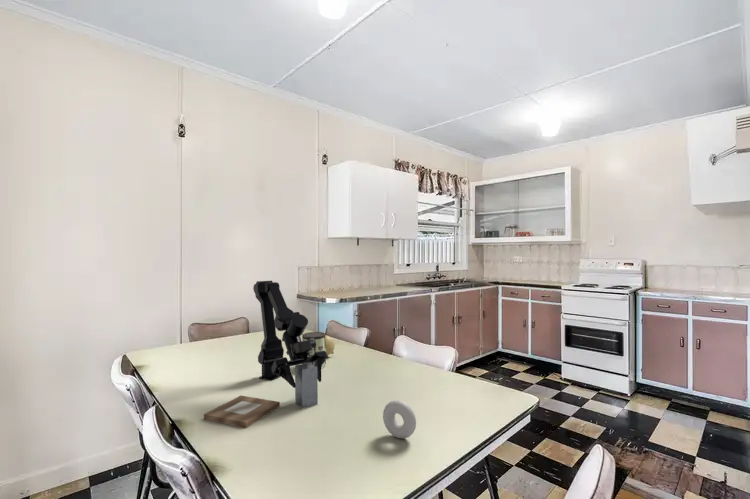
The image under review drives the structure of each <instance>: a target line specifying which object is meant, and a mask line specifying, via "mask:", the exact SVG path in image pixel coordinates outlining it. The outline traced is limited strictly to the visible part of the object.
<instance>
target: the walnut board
mask: <svg viewBox="0 0 750 499" xmlns="http://www.w3.org/2000/svg"><path fill="white" fill-rule="evenodd" d="M280 404H281V403H280V401H276V400H270V399H265V398H259V397H254V396H253V397H251V396H245V395H239V396H237V397H235V398H233V399H231V400H229V401H226V402H225V403H223V404H220V405H219V406H217V407H216V408H214V409H212V410H210V411H208V412H206V413H204V414H203V420H206V421H211V422H216V423H221V424H224V425H225V424H226V425H231V426H235V427H241V428H245V429H246V428H249V427H250V426H252V425H253V424H255V423H256V422H258V421H259V420H261V419H263V418H264V417H266V416H267V415H269V414H270V413H272V412H274V411H275V410H276V409H278V408H280V407H281V405H280Z"/></svg>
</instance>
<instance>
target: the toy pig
mask: <svg viewBox="0 0 750 499" xmlns="http://www.w3.org/2000/svg"><path fill="white" fill-rule="evenodd" d="M335 344H336V343H335V341H334V340H333V338H331V337H330V335H326V336H325V350H326V353H327V355H328V356H329V355H334V353H335V351H334V350H335V348H336V345H335Z"/></svg>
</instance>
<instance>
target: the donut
mask: <svg viewBox="0 0 750 499" xmlns="http://www.w3.org/2000/svg"><path fill="white" fill-rule="evenodd" d="M396 414H397V415H400V417H401V418H402V420H403V424H400V423H399V422H398V421H397V419H396ZM382 419H383V424H384V426H385V428H386V429H387V431H388V433H390V434H391V435H392V436H393V437H396V438H397V439H402V440H403V439H407V438H409V437H411V436H413V434H414V433H415V430H416V429H417V428H416V427H417V417H416V415H415V412H414V410H413V409H412V407H411V406H410V405H409V404H408V403H406V402H405V401H403V400H399V399H395V400H391V401H388V403H387V404H386V405H385V406H384V409H383V412H382Z"/></svg>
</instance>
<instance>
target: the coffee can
mask: <svg viewBox="0 0 750 499" xmlns="http://www.w3.org/2000/svg"><path fill="white" fill-rule="evenodd" d="M325 336H326V333H325V332H322V331H311V332H304V333H303V334H302V335H301V337H302V338H301V341H308V339H310V338H314V339H315V341H316V347H314V348H312V350H310V351H309V352H310V353H309V355H307V357H311V356H313V355H314V353H315V352H317V351H323V350H324V351H326V350H325ZM326 360H327V359H326ZM326 360H325V362H324V363H323V364H322V367H321V369H323V368H325V367H326V366H327V363H326ZM310 363H311V362H310ZM305 364H306V363H305ZM311 364H312V363H311Z"/></svg>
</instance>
